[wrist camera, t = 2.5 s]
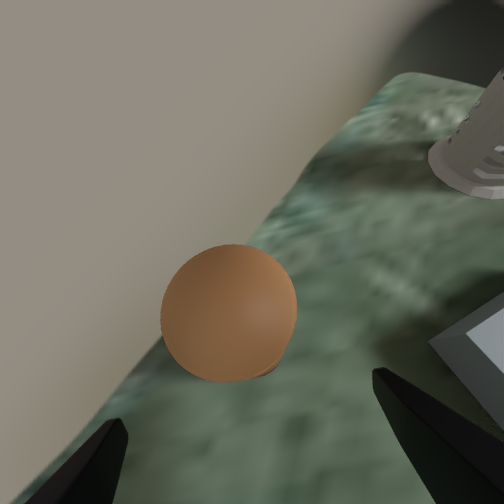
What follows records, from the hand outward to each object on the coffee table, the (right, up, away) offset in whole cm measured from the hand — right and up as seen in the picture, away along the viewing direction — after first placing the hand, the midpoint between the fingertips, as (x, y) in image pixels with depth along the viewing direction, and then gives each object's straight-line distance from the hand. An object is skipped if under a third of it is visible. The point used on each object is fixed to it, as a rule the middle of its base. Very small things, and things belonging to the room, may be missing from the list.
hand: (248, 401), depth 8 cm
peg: (0, -2, +10) cm, 11 cm away
